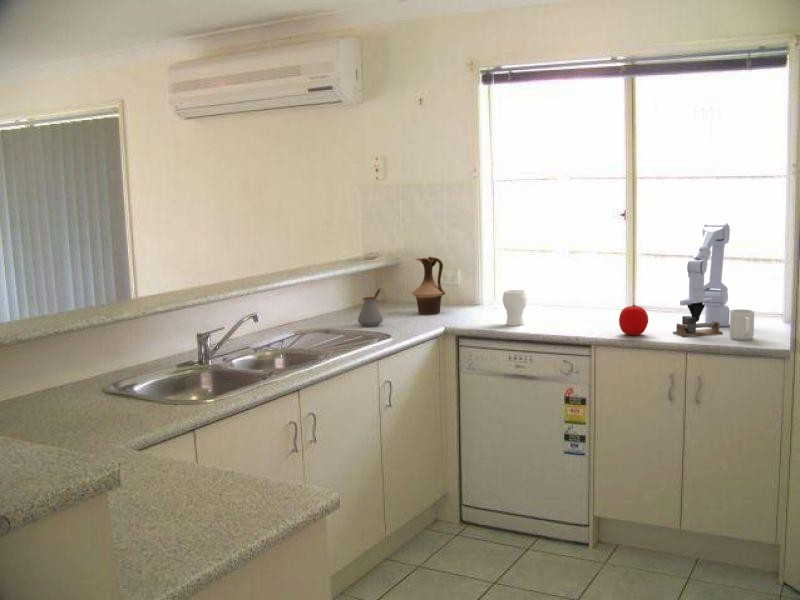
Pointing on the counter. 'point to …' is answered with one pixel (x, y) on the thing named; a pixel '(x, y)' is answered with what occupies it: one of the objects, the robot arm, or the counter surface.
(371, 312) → the coffee pot
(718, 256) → the robot arm
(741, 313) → the mug
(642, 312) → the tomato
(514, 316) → the cup
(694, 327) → the collar
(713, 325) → the towel rail
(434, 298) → the pitcher
